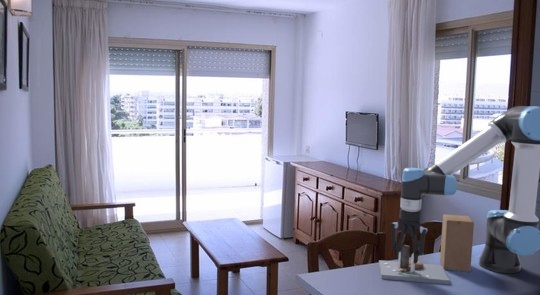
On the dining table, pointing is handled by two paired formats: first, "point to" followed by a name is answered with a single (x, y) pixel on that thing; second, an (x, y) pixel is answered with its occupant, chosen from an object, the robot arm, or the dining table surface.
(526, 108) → the robot arm
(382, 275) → the board
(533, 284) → the dining table surface
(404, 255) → the dial
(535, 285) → the dining table surface
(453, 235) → the wooden block
